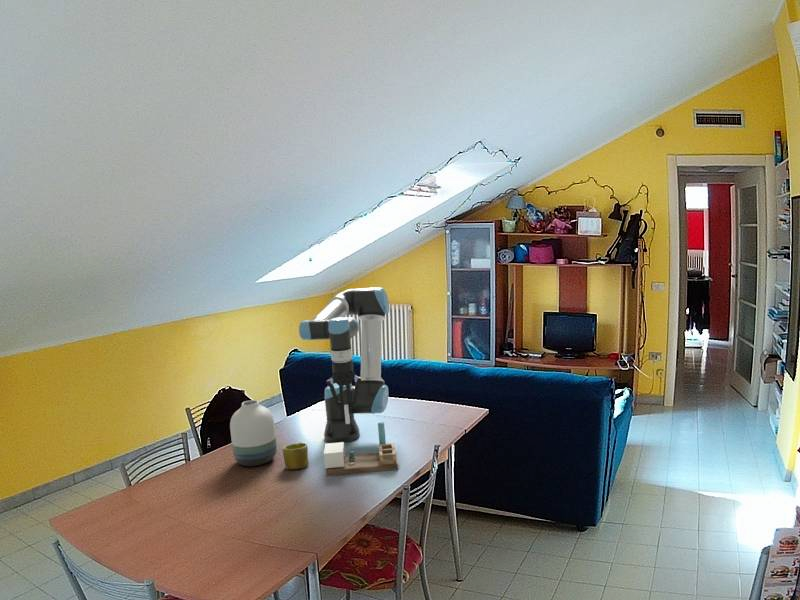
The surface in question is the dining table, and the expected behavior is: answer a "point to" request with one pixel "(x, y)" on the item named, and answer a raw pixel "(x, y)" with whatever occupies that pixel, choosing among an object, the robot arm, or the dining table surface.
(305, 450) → the mug
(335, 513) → the dining table surface
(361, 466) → the board
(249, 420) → the vase
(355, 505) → the dining table surface
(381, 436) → the peg
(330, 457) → the cover
